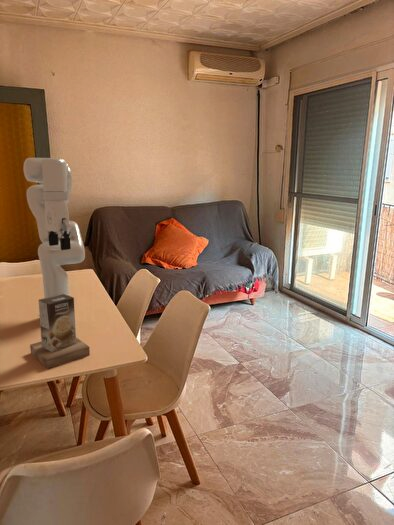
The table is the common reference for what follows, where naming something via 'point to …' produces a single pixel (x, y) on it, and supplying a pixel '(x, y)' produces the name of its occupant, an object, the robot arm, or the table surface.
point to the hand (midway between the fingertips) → (59, 247)
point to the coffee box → (57, 322)
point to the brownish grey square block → (59, 353)
